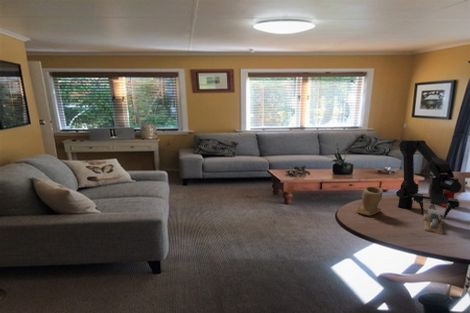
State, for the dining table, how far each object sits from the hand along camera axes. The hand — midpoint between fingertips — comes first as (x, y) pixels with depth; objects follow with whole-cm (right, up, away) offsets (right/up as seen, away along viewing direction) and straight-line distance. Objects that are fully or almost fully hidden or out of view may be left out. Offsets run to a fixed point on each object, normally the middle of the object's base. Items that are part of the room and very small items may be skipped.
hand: (433, 215), depth 145 cm
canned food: (+23, +1, +23) cm, 32 cm away
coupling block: (0, -2, 0) cm, 2 cm away
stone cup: (-26, -1, +13) cm, 29 cm away
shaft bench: (0, -3, +1) cm, 4 cm away
